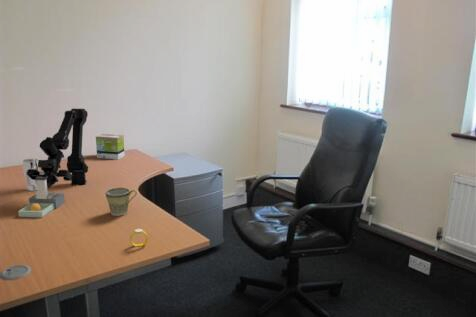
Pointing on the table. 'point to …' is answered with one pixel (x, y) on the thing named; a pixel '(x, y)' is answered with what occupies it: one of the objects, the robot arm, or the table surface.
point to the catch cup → (44, 210)
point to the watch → (138, 233)
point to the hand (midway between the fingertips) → (44, 191)
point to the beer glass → (30, 183)
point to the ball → (35, 207)
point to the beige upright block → (41, 188)
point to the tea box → (110, 146)
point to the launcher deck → (50, 199)
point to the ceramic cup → (118, 200)
